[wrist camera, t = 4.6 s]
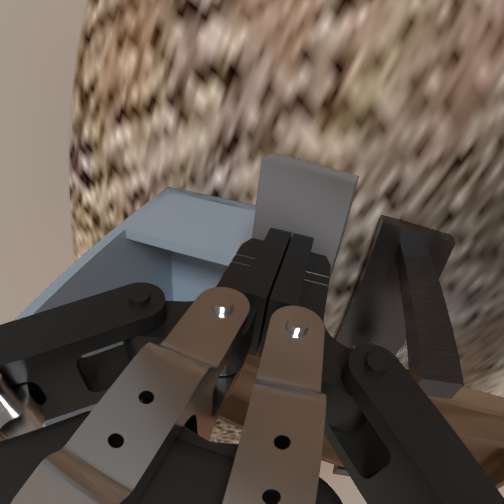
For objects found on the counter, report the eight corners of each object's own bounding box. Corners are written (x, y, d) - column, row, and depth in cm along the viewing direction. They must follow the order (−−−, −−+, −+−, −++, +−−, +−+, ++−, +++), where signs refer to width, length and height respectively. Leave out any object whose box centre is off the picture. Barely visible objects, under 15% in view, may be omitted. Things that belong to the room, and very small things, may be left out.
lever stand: (381, 214, 19) (397, 354, 10) (451, 235, 18) (504, 372, 9) (328, 353, 26) (305, 473, 17) (383, 365, 25) (376, 484, 16)
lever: (260, 149, 11) (215, 172, 9) (630, 301, 6) (654, 345, 3) (231, 387, 19) (207, 423, 17) (476, 464, 14) (472, 502, 11)
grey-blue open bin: (167, 187, 22) (-14, 349, 9) (315, 219, 20) (236, 484, 7) (171, 297, 27) (66, 451, 14) (287, 331, 26) (223, 523, 13)
